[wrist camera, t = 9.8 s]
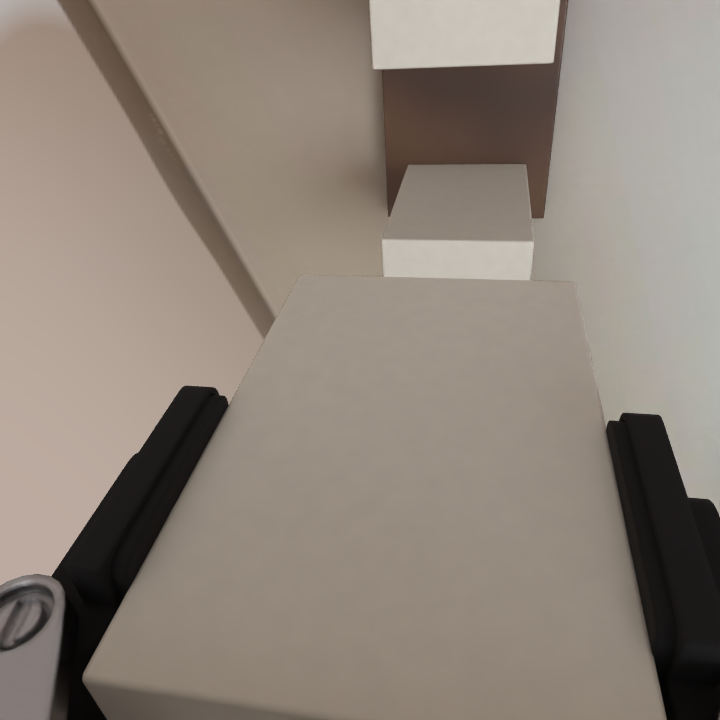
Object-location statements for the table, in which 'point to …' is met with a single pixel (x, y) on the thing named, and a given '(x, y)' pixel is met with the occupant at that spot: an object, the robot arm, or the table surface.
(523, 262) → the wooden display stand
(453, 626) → the beige box
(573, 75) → the table surface
